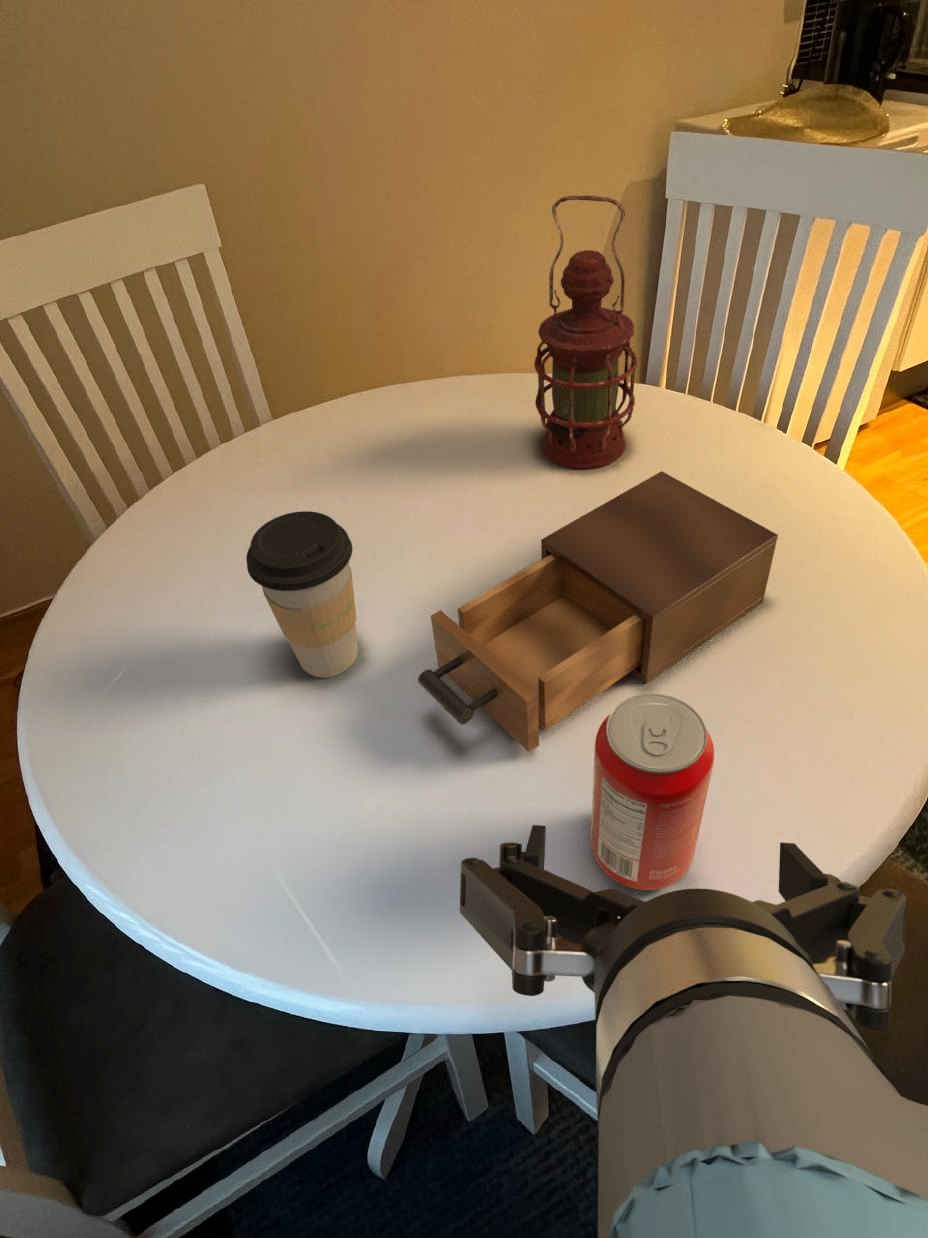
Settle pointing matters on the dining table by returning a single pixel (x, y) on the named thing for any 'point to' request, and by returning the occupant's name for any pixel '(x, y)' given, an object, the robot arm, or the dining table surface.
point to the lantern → (585, 362)
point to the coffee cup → (308, 588)
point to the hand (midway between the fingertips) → (659, 857)
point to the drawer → (534, 649)
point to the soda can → (649, 790)
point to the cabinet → (670, 563)
